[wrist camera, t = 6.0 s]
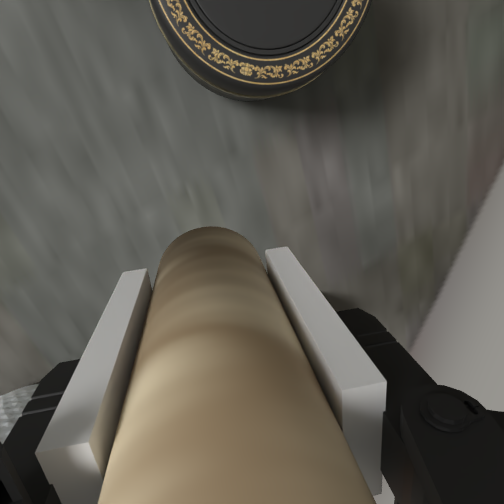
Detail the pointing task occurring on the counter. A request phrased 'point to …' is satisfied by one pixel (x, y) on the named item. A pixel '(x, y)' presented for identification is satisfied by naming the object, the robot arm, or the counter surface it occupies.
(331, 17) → the jar
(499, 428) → the robot arm
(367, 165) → the counter surface
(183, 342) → the dowel
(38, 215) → the counter surface
